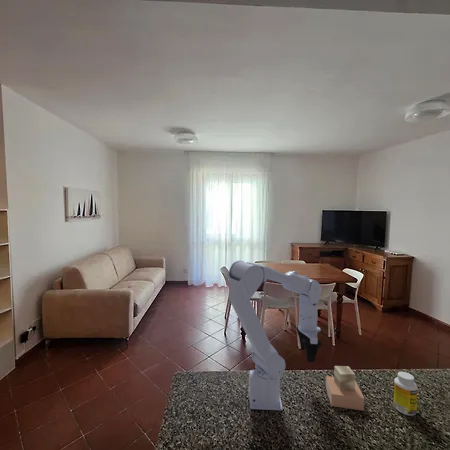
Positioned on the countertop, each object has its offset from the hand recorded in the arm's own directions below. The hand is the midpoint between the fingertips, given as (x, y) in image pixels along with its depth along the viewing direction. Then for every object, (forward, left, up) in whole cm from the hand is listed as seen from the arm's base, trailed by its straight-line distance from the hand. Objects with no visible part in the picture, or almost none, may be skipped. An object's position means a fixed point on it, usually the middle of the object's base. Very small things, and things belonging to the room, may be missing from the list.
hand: (307, 355), depth 86 cm
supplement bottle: (+26, -9, -11) cm, 29 cm away
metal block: (+10, -5, -7) cm, 13 cm away
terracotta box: (+10, -5, -11) cm, 15 cm away
